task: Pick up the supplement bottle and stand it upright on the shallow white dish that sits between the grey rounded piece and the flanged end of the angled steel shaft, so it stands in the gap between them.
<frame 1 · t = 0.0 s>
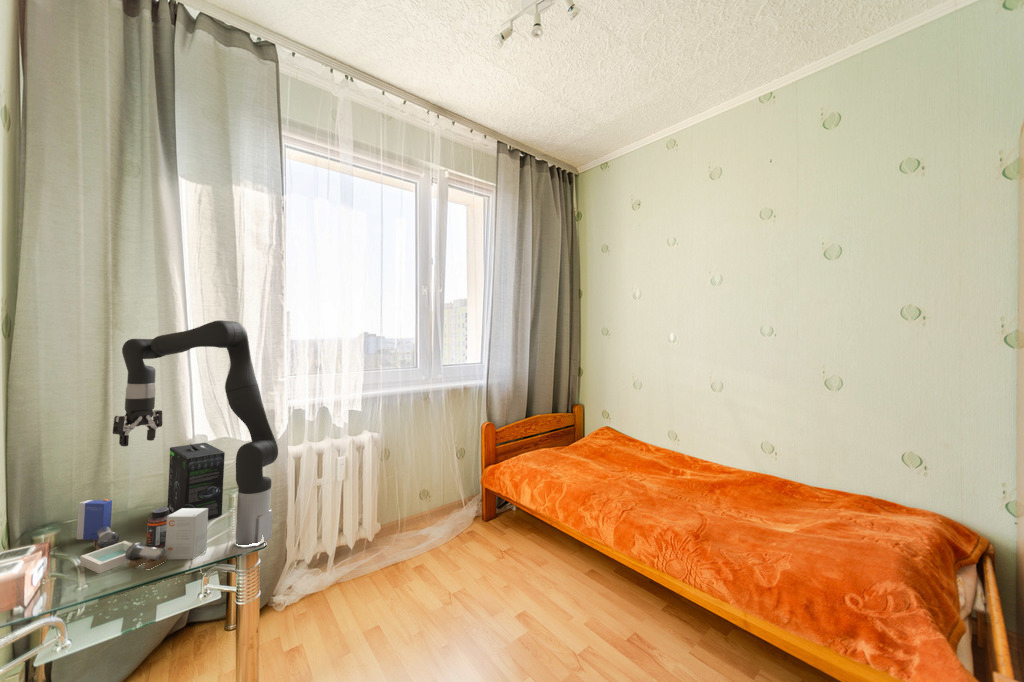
hand: (137, 443, 136), 29 cm above the table, fingers open, 8 cm apart
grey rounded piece: (147, 564, 115), on the table
shallow white dish: (112, 560, 116), on the table
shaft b: (105, 546, 123), on the table
small box: (186, 555, 121), on the table
headset box: (194, 512, 150), on the table
supplement bottle: (158, 545, 125), on the table
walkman: (93, 538, 128), on the table
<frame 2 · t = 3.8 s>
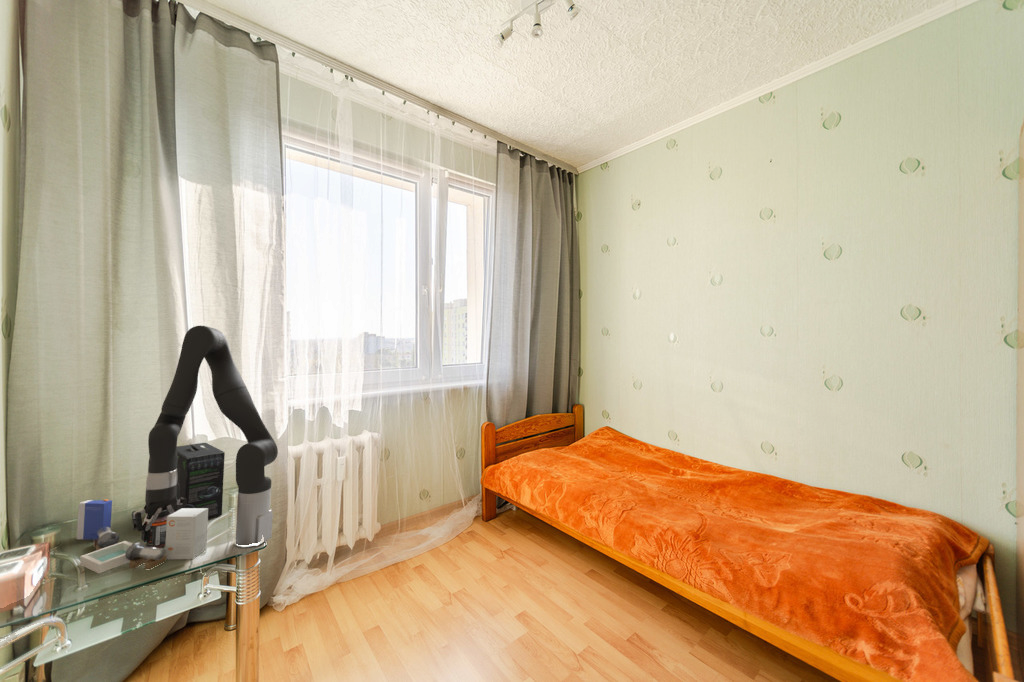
hand: (159, 536, 126), 3 cm above the table, fingers closed on supplement bottle, 6 cm apart
supplement bottle: (158, 545, 125), on the table, touching gripper
everything else where it was.
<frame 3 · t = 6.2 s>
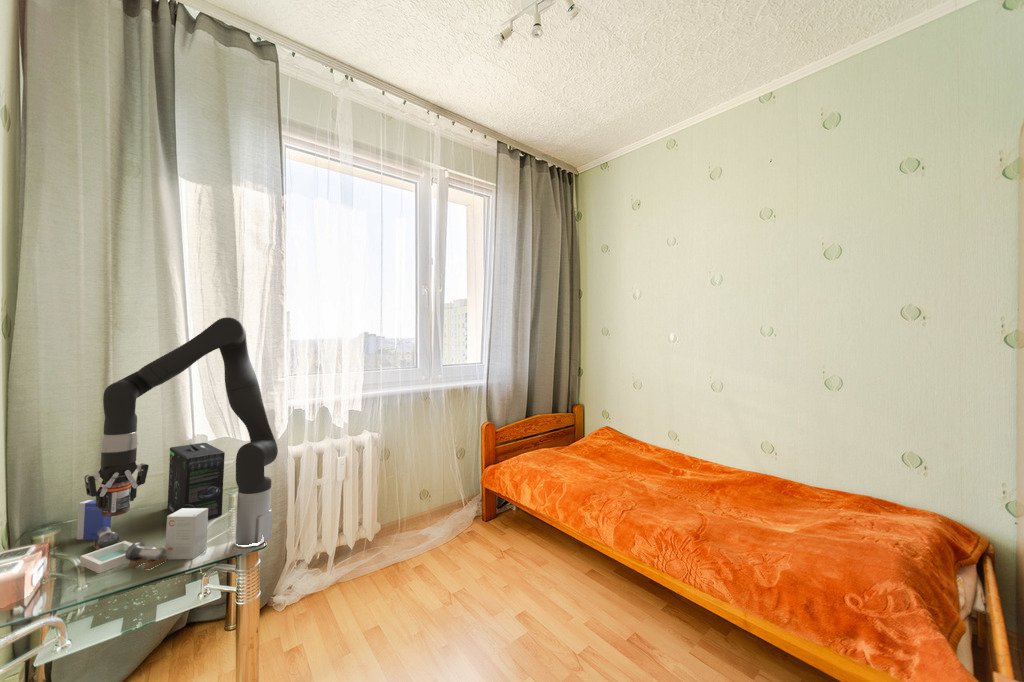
hand: (116, 504, 116), 16 cm above the table, fingers closed on supplement bottle, 6 cm apart
supplement bottle: (115, 513, 116), point 14 cm above the table, touching gripper
everything else where it was.
when the fingers open (4 cm above the table, at t = 9.1 s): supplement bottle drops 1 cm, resting on shallow white dish.
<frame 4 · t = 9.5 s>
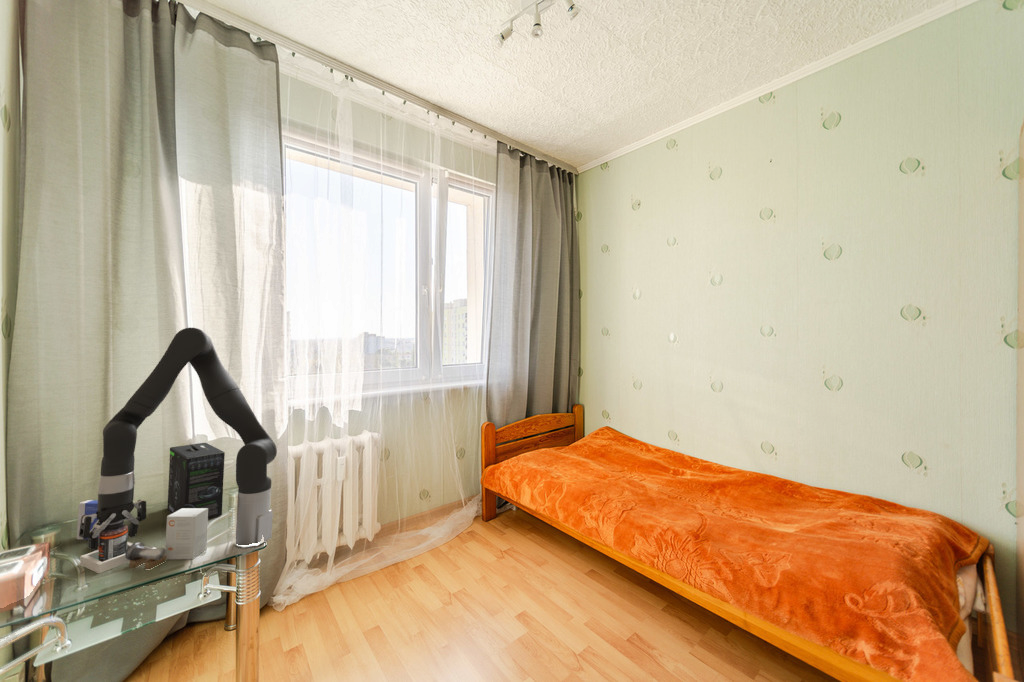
hand: (113, 543, 116), 5 cm above the table, fingers open, 8 cm apart
supplement bottle: (112, 559, 116), resting on shallow white dish
everything else where it was.
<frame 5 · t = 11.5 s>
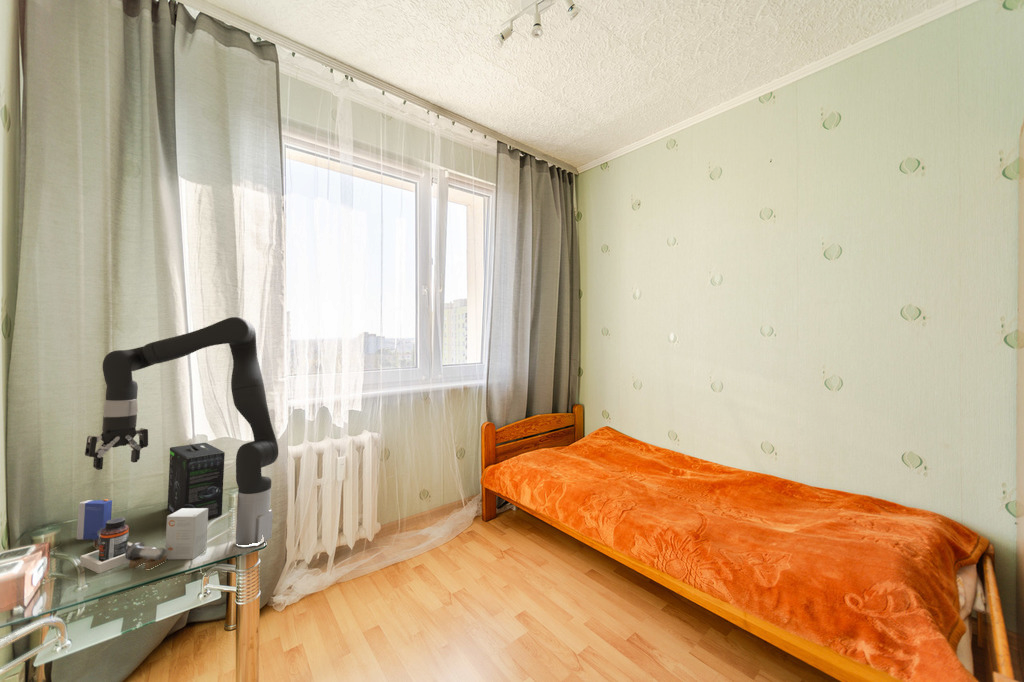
hand: (116, 465, 123), 26 cm above the table, fingers open, 8 cm apart
nothing on the table moved.
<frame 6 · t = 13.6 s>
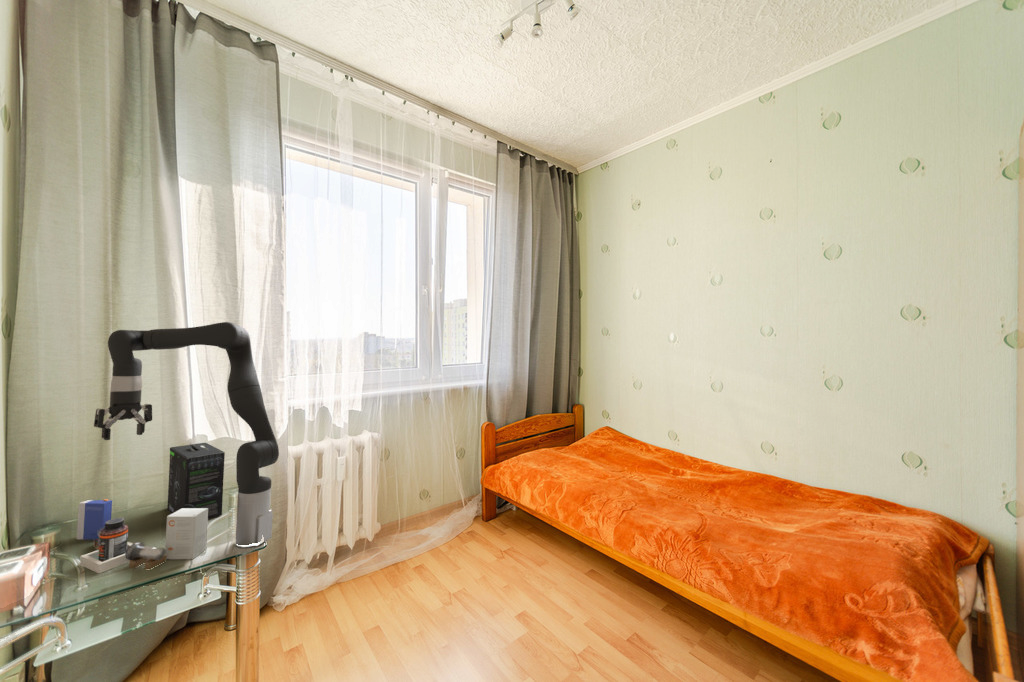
hand: (123, 437, 132), 32 cm above the table, fingers open, 8 cm apart
nothing on the table moved.
at the end: supplement bottle 0.1 cm from the shallow white dish (horizontally); supplement bottle resting on shallow white dish; supplement bottle tilted 0° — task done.
